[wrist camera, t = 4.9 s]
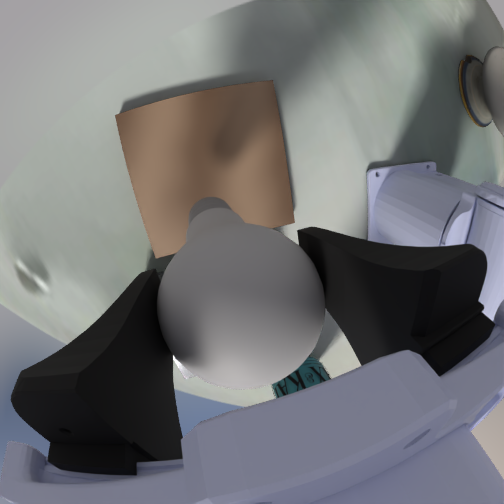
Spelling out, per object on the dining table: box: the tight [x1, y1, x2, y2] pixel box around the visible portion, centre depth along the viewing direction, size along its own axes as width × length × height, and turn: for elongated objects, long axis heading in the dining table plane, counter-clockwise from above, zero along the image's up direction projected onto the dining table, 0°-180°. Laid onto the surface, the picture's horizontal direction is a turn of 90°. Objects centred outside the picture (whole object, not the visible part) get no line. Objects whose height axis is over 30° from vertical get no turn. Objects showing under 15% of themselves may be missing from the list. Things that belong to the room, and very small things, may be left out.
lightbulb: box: [157, 197, 326, 389], centre depth 12 cm, size 6×6×11 cm
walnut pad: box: [115, 80, 295, 258], centre depth 18 cm, size 11×11×1 cm
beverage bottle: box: [272, 357, 331, 398], centre depth 21 cm, size 6×7×20 cm
